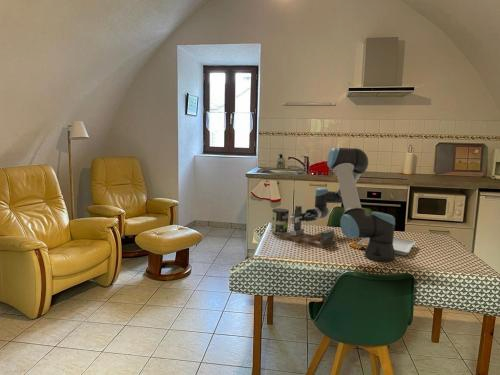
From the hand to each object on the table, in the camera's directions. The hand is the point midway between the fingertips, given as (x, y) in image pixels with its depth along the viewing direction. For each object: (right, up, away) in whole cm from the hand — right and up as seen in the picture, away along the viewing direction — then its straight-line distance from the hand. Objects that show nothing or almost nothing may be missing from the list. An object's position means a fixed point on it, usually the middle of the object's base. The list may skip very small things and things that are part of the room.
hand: (292, 219), depth 228 cm
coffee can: (-7, -9, +19) cm, 22 cm away
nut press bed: (+9, -12, +1) cm, 15 cm away
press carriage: (+3, -9, +6) cm, 11 cm away
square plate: (+53, -16, -5) cm, 55 cm away
